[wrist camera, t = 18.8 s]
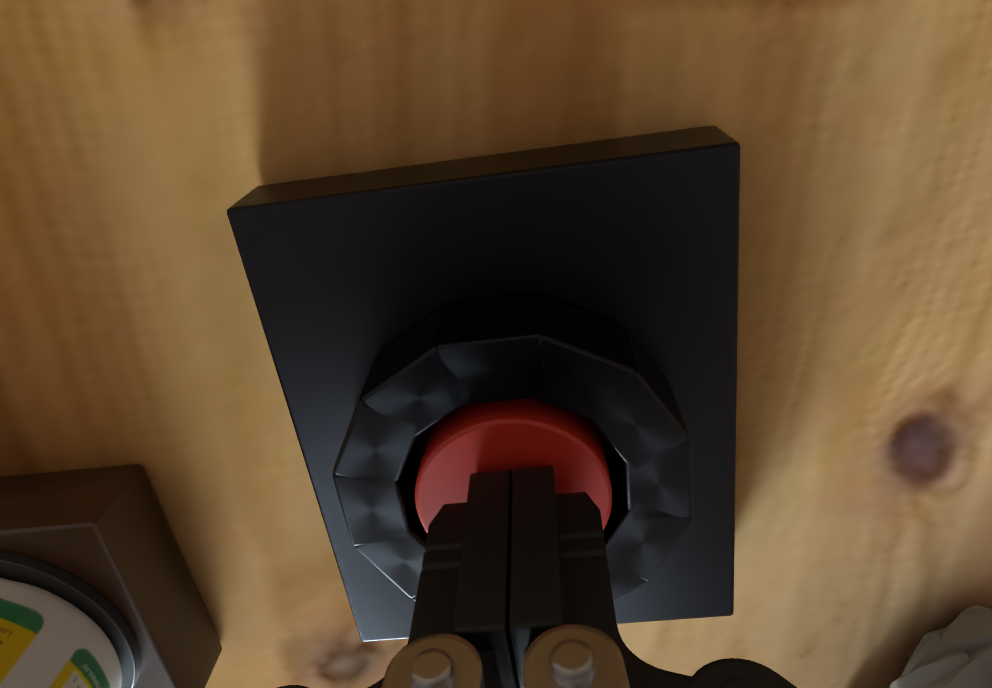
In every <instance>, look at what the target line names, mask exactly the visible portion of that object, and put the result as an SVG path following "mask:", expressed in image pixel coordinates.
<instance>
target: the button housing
mask: <svg viewBox="0 0 992 688" xmlns="http://www.w3.org/2000/svg"><path fill="white" fill-rule="evenodd" d="M739 198H740V145H739V143H738V142H737V141H736V140H734V139H733V138H732V137H730V136H729V135H727V134H726V133H725V132H723V131H722V130H721V129H719V128H718V127H717V126H706V127H699V128H691V129H684V130H676V131H669V132H661V133H654V134H646V135H638V136H631V137H623V138H616V139H608V140H601V141H593V142H586V143H578V144H571V145H563V146H556V147H548V148H541V149H533V150H526V151H518V152H511V153H503V154H496V155H488V156H480V157H473V158H465V159H458V160H450V161H443V162H435V163H428V164H420V165H413V166H405V167H398V168H390V169H383V170H375V171H368V172H360V173H353V174H345V175H338V176H330V177H323V178H315V179H307V180H300V181H292V182H285V183H277V184H270V185H262V186H258V187H256V188H255V189H254V190H252V191H251V192H250V193H248V194H247V195H246V196H244V197H243V198H242V199H241V200H239V201H238V202H237V203H235V204H234V205H233V206H231V207H230V208H229V209H227V215H228V218H229V221H230V224H231V227H232V230H233V234H234V237H235V240H236V243H237V246H238V250H239V253H240V256H241V259H242V262H243V265H244V269H245V272H246V275H247V278H248V281H249V285H250V288H251V291H252V294H253V297H254V300H255V304H256V307H257V310H258V313H259V316H260V320H261V323H262V326H263V329H264V332H265V335H266V339H267V342H268V345H269V348H270V351H271V354H272V358H273V361H274V364H275V367H276V370H277V374H278V377H279V380H280V383H281V386H282V389H283V393H284V396H285V399H286V402H287V405H288V409H289V412H290V415H291V418H292V421H293V424H294V428H295V431H296V434H297V437H298V440H299V444H300V447H301V450H302V453H303V456H304V459H305V463H306V466H307V469H308V472H309V475H310V479H311V482H312V485H313V488H314V491H315V494H316V498H317V501H318V504H319V507H320V510H321V513H322V517H323V520H324V523H325V526H326V529H327V533H328V536H329V539H330V542H331V545H332V548H333V552H334V555H335V558H336V561H337V564H338V568H339V571H340V574H341V577H342V580H343V583H344V587H345V590H346V593H347V596H348V599H349V603H350V606H351V609H352V612H353V615H354V618H355V622H356V625H357V628H358V631H359V634H360V638H361V640H362V641H378V640H392V639H407V638H409V635H410V629H411V624H412V618H413V612H414V607H415V601H416V595H417V590H418V584H419V578H420V573H421V571H422V561H423V556H424V552H425V545H426V539H427V532H426V531H425V529H424V527H423V525H422V523H421V521H420V519H419V516H418V512H417V509H416V503H415V486H416V480H417V475H418V471H419V466H420V461H421V457H422V452H423V447H424V443H425V438H426V433H427V429H428V428H430V427H431V426H433V425H434V424H436V423H437V422H439V421H440V420H442V419H443V418H445V417H446V416H448V415H449V414H451V413H452V412H454V411H456V410H457V409H459V408H460V407H462V406H463V405H467V404H477V403H487V402H497V401H507V400H517V399H526V398H533V399H536V400H539V401H541V402H544V403H547V404H549V405H552V406H555V407H557V408H560V409H563V410H566V411H568V412H571V413H574V414H576V415H579V416H582V417H585V418H587V419H589V420H590V421H591V422H592V424H593V425H594V426H595V427H596V428H597V430H598V431H599V432H600V433H601V434H602V435H603V441H604V447H605V452H606V458H607V464H608V469H609V475H610V481H611V487H612V508H611V513H610V516H609V519H608V522H607V524H606V526H605V528H604V530H603V533H604V540H605V547H606V554H607V560H608V567H609V574H610V581H611V588H612V595H613V602H614V609H615V616H616V623H617V624H619V623H633V622H647V621H661V620H675V619H689V618H704V617H718V616H731V615H733V609H734V541H735V472H736V404H737V335H738V267H739Z"/></svg>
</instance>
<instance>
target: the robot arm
mask: <svg viewBox="0 0 992 688" xmlns="http://www.w3.org/2000/svg"><path fill="white" fill-rule="evenodd" d="M278 688H308V687H305V686H300V685H288V686H282V687H278ZM368 688H797V687H796V686H794V685H793V684H791V683H790V682H789V681H787V680H786V679H784V678H783V677H782V676H780V675H779V674H778V673H776V672H774V671H773V670H771V669H770V668H768V667H766V666H764V665H762V664H759V663H756V662H753V661H750V660H745V659H735V658H729V659H721V660H717V661H713V662H711V663H709V664H706V665H704V666H703V667H702V668H700V669H699V670H698V671H697V672H696V673H695V674H694V675H693V676H692V677H691V676H687V675H682V674H678V673H674V672H669V671H665V670H662V669H659V668H656V667H654V666H651V665H649V664H647V663H646V662H644V661H642V660H641V659H639V658H638V657H637V656H635V655H634V654H633V653H632V652H631V651H630V650H629V649H628V648H627V647H626V645H625V644H624V642H623V641H622V639H621V637H620V634H619V632H618V628H617V623H616V616H615V609H614V602H613V595H612V588H611V581H610V574H609V567H608V560H607V554H606V547H605V540H604V533H603V526H602V519H601V512H600V509H599V508H598V507H597V505H596V504H595V503H594V502H593V500H592V499H591V498H590V497H589V495H588V494H587V493H586V492H575V493H564V494H557V489H556V481H555V473H554V467H553V466H543V467H532V468H521V469H514V470H513V476H512V472H511V470H502V471H491V472H480V473H471V474H470V479H469V488H468V497H467V502H464V503H452V504H444V505H443V506H442V508H441V509H440V510H439V512H438V513H437V514H436V516H435V517H434V519H433V520H432V521H431V523H430V524H429V528H428V533H427V539H426V545H425V552H424V556H423V561H422V571H421V573H420V578H419V584H418V590H417V595H416V601H415V607H414V612H413V618H412V624H411V629H410V635H409V640H408V644H407V645H406V646H405V647H403V648H402V649H401V650H400V651H399V652H398V653H397V654H396V655H395V656H394V658H393V659H392V660H391V662H390V664H389V665H388V667H387V670H386V673H385V676H384V678H382V679H381V680H380V681H378V682H377V683H375V684H373V685H372V686H370V687H368Z"/></svg>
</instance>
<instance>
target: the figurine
mask: <svg viewBox="0 0 992 688" xmlns="http://www.w3.org/2000/svg"><path fill="white" fill-rule="evenodd" d="M890 688H992V609H990V608H986V607H982V606H978V605H972V606H970V607H969V608H967V609H965V610H964V611H962V612H961V614H960V615H959V616H958V617H957V618H956V619H955V620H954V621H953V622H952V623H951V624H950V625H948V626H947V627H946V628H943V629H939V630H936V631H933V632H929V633H926V634H925V635H924V636H923V638H922V639H921V641H920V643H919V644H918V646H917V648H916V649H915V651H914V653H913V654H912V656H911V658H910V659H909V661H908V663H907V665H906V667H905V670H904V671H903V673H902V675H901V677H900V678H898V679H896V680H894V681H893V682H892V684H891V685H890Z"/></svg>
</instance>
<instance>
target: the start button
mask: <svg viewBox="0 0 992 688" xmlns="http://www.w3.org/2000/svg"><path fill="white" fill-rule="evenodd" d="M543 466H553V467H554V473H555V481H556V489H557V494H564V493H575V492H586V493H587V494H588V495H589V497H590V498H591V499H592V500H593V502H594V503H595V504H596V505H597V507H598V508H599V509H600V512H601V519H602V526H603V530H604V528H605V526H606V524H607V522H608V519H609V516H610V513H611V508H612V487H611V481H610V475H609V469H608V464H607V458H606V452H605V447H604V441H603V435H602V434H601V433H600V432H599V431H598V430H597V428H596V427H595V426H594V425H593V424H592V422H591V421H590V420H589V419H587V418H585V417H582V416H579V415H576V414H574V413H571V412H568V411H566V410H563V409H560V408H557V407H555V406H552V405H549V404H547V403H544V402H541V401H539V400H536V399H533V398H526V399H517V400H507V401H497V402H487V403H477V404H467V405H463V406H462V407H460V408H459V409H457V410H456V411H454V412H452V413H451V414H449V415H448V416H446V417H445V418H443V419H442V420H440V421H439V422H437V423H436V424H434V425H433V426H431V427H430V428H428V429H427V433H426V438H425V443H424V447H423V452H422V457H421V461H420V466H419V471H418V475H417V480H416V486H415V503H416V509H417V512H418V516H419V519H420V521H421V523H422V525H423V527H424V529H425V531H426V532H427V533H428V528H429V524H430V523H431V521H432V520H433V519H434V517H435V516H436V514H437V513H438V512H439V510H440V509H441V508H442V506H443V505H444V504H452V503H464V502H467V497H468V488H469V479H470V474H471V473H480V472H491V471H502V470H511V472H512V476H513V470H514V469H521V468H532V467H543Z"/></svg>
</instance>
